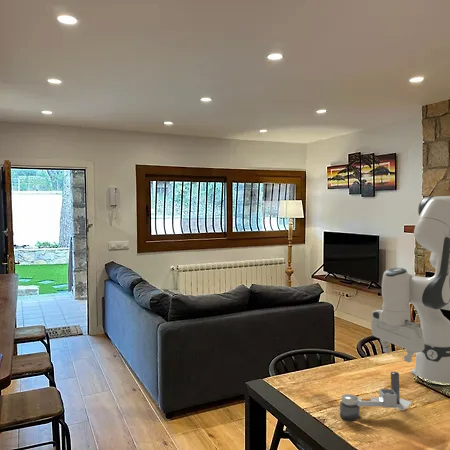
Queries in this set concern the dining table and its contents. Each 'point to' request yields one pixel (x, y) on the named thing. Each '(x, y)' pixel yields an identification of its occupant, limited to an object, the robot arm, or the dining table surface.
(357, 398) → the crank
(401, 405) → the mat
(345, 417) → the crank post
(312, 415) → the dining table surface
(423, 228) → the robot arm
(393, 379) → the dark grey post
